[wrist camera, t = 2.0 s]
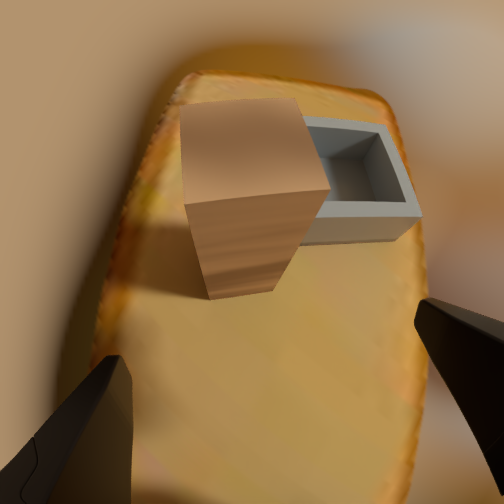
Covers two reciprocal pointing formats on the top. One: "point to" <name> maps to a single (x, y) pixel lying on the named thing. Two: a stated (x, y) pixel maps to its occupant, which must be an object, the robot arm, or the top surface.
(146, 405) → the top surface
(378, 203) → the slate well
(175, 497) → the top surface
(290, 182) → the walnut block
